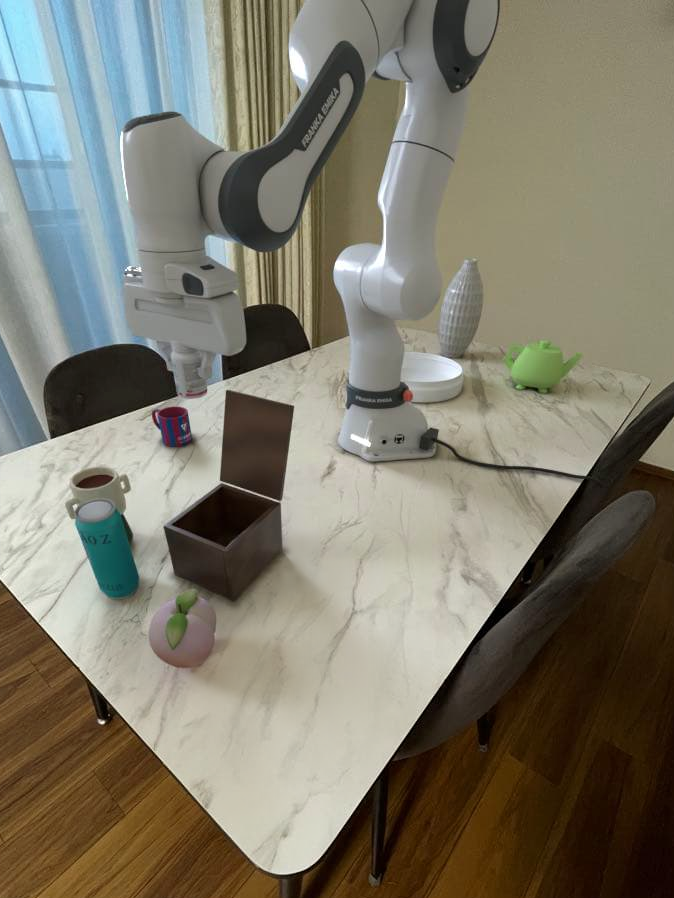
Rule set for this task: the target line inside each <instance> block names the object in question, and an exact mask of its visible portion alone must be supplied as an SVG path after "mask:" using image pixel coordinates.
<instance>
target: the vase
mask: <svg viewBox="0 0 674 898" xmlns="http://www.w3.org/2000/svg"><path fill="white" fill-rule="evenodd" d="M483 305H484V285H483V280H482V277H481V274H480V270H479V267H478V260H477V259H476V258H465V259H464V260H463V263H462V266H461V267H460V268H459V270H458V271H456V273H455V275H454V276H453V278H452V279H451V281H450V283H449V284H448V287H447V289H446V290H445V293H444V296H443V299H442V303H441V308H440V313H439V320H438V341H439V346H440V350H441V352H442V355H443V357H446V358H449V359H450V358H452V359H458V358H462V355H464V354H465V352H466V351H467V350H468V348H469V347H470V345H471V344H472V342H473V339H474V337H475V336H476V334H477V330H478V328H479V324H480V321H481V317H482V312H483Z"/></svg>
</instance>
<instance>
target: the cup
mask: <svg viewBox="0 0 674 898" xmlns="http://www.w3.org/2000/svg"><path fill="white" fill-rule="evenodd" d="M156 414H157V415H156ZM189 416H190V415H189V411H188V409H187V408H186V407H184V406H179V405H178V406H177V405H176V406H174V405H173V406H167V407H164V408H161V409H159V408H155V409H153V410H152V411H151V419H152V421H153V424H154V425H155V427H156V428H157V429H158V430H159V431H160V435H161V439H162V443H163V444H164V445H165V446H168V447H182V446H186V445H188V444H189V443H191V442H192V441H193V435H192V428H191V423H190V417H189Z"/></svg>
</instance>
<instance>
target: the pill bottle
mask: <svg viewBox="0 0 674 898" xmlns="http://www.w3.org/2000/svg"><path fill="white" fill-rule="evenodd" d="M171 346H172V350H174V351H173V352H172V353H171V361H172V367H173V371H172V372H173V379H174V383H175V390H176V394H177V396H178V397H180V398H181V399H187V400H193V399H194V400H196V399H201V398H202V397H205V396H206V395H207V394H208V384H207V383H208V382H207V380H206V379H201V378H199V377H198V376H197V374H198V372H197V369H196V367H197V366H201V364H202V360H203V357H200V353H199V350H198V349H194V348H189V347H184V346H182V345H181V343H180V342H176V341H172V343H171Z"/></svg>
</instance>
